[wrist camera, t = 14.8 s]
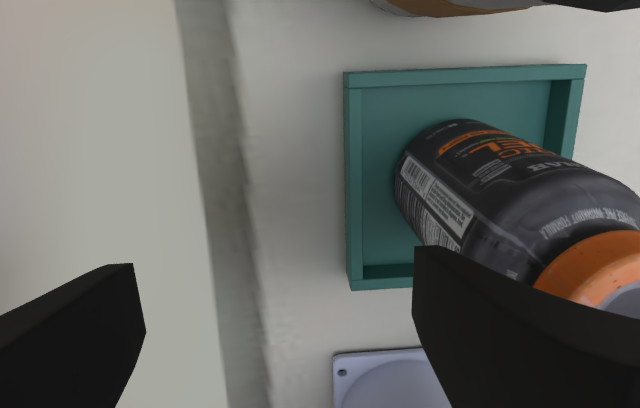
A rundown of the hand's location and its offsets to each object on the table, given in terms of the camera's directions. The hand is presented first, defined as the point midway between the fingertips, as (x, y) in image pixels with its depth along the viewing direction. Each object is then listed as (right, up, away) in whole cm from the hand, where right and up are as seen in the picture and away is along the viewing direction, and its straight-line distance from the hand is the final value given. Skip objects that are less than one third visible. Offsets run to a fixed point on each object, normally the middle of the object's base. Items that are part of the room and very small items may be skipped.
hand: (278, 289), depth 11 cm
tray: (+7, +4, +10) cm, 13 cm away
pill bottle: (+7, +3, +10) cm, 13 cm away
